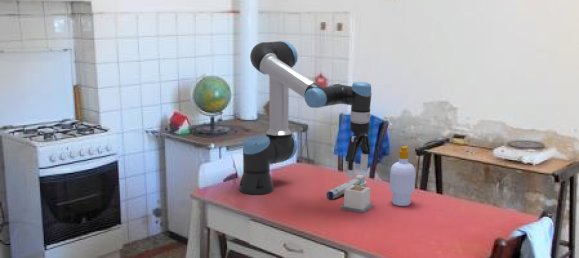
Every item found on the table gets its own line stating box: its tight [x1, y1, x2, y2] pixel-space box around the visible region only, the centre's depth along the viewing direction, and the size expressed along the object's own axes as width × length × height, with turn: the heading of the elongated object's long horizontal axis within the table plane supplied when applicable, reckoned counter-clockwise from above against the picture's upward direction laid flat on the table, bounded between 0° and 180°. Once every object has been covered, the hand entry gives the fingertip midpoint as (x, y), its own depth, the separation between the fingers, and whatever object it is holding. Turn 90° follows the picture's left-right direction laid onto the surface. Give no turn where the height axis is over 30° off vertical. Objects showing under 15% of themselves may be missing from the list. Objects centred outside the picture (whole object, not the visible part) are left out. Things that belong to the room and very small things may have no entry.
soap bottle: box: [389, 145, 416, 207], centre depth 245 cm, size 10×10×24 cm
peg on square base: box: [340, 185, 374, 214], centre depth 241 cm, size 10×10×9 cm
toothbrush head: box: [326, 174, 367, 200], centre depth 261 cm, size 5×7×25 cm
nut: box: [343, 185, 371, 210], centre depth 241 cm, size 8×8×7 cm
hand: (357, 173), depth 239 cm, fingers open, 13 cm apart
